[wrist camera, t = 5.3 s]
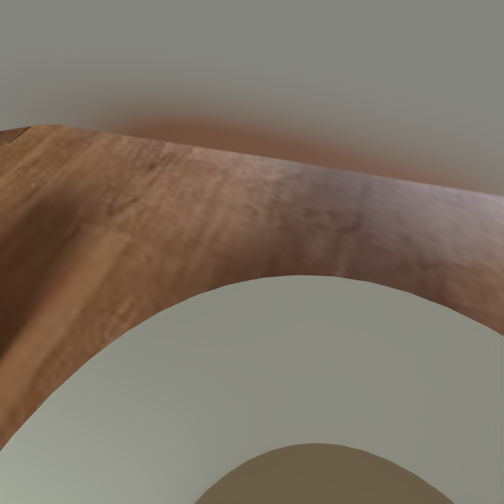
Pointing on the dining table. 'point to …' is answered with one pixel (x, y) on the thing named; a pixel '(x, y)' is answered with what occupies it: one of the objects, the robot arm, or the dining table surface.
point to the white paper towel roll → (275, 405)
